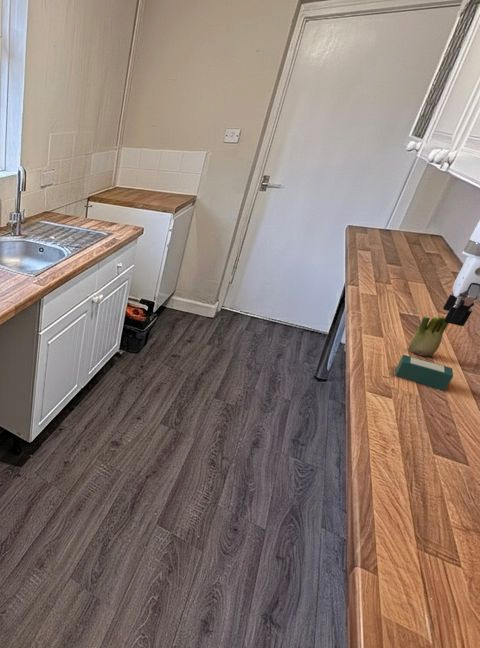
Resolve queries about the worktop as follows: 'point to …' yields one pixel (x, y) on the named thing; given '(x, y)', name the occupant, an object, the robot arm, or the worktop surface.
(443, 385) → the tea packet
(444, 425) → the worktop surface
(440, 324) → the fennel bulb
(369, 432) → the worktop surface
